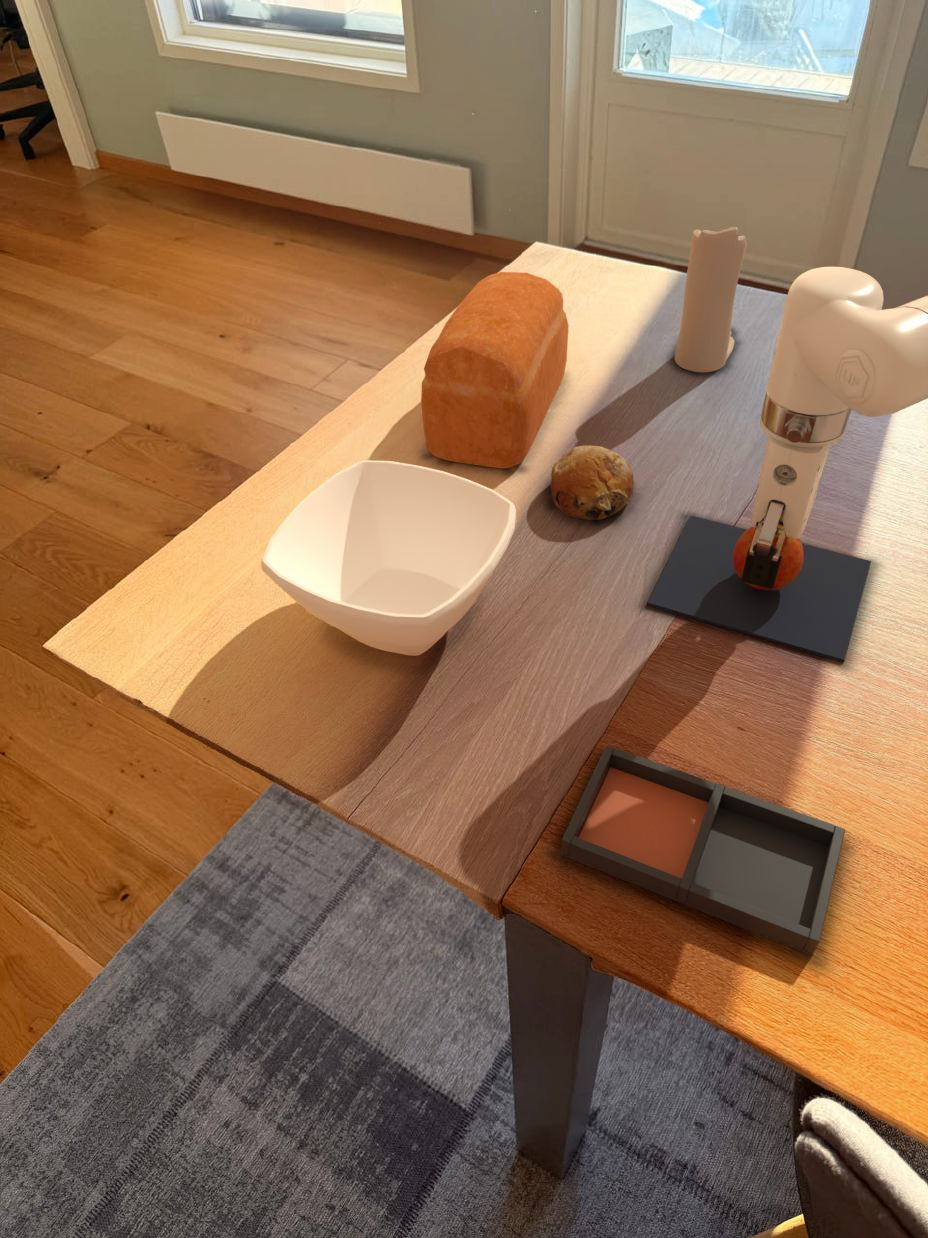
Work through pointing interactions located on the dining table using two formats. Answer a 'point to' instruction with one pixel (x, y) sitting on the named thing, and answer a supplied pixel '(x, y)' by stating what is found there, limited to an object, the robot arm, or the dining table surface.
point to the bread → (495, 371)
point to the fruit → (789, 553)
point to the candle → (709, 299)
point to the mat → (763, 592)
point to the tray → (707, 847)
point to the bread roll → (591, 483)
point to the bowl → (391, 552)
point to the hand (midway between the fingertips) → (768, 554)
